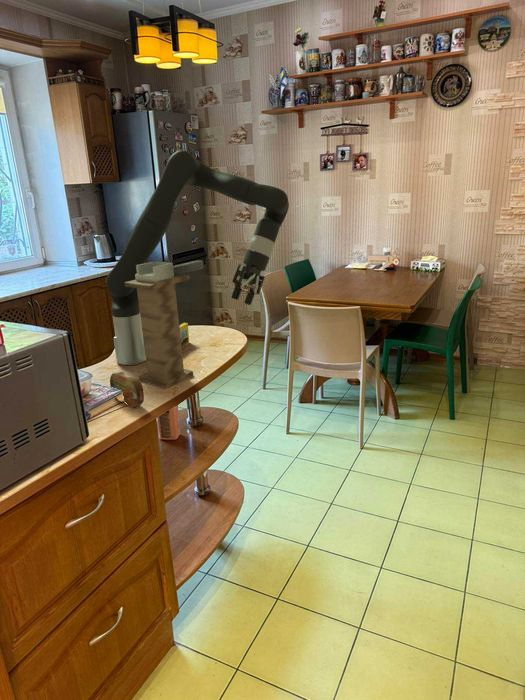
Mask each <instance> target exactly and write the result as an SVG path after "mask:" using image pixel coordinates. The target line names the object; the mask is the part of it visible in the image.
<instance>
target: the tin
mask: <svg viewBox="0 0 525 700" xmlns="http://www.w3.org/2000/svg"><path fill="white" fill-rule="evenodd" d="M109 378H110V379H109V386H110V388H111V387H113V388H117V389H119V390H121V391H122V392H123V396H124V400H125V402H126V403H127V404H128V405H129V406H131V407H133V408H134V409H135V407H138V406H142V404H143V403H144V402H145V401H144V400H145V394H144V392H145V391H144V388H143V385H142V383H141V381H140V380H139V379H138V378H136V377H134V376H133V375H130V374H129V373H125V372H123V371H118V372H114V373H112V374H111V375H110V377H109ZM129 406H128V407H129ZM131 407H130V408H131Z"/></svg>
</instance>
